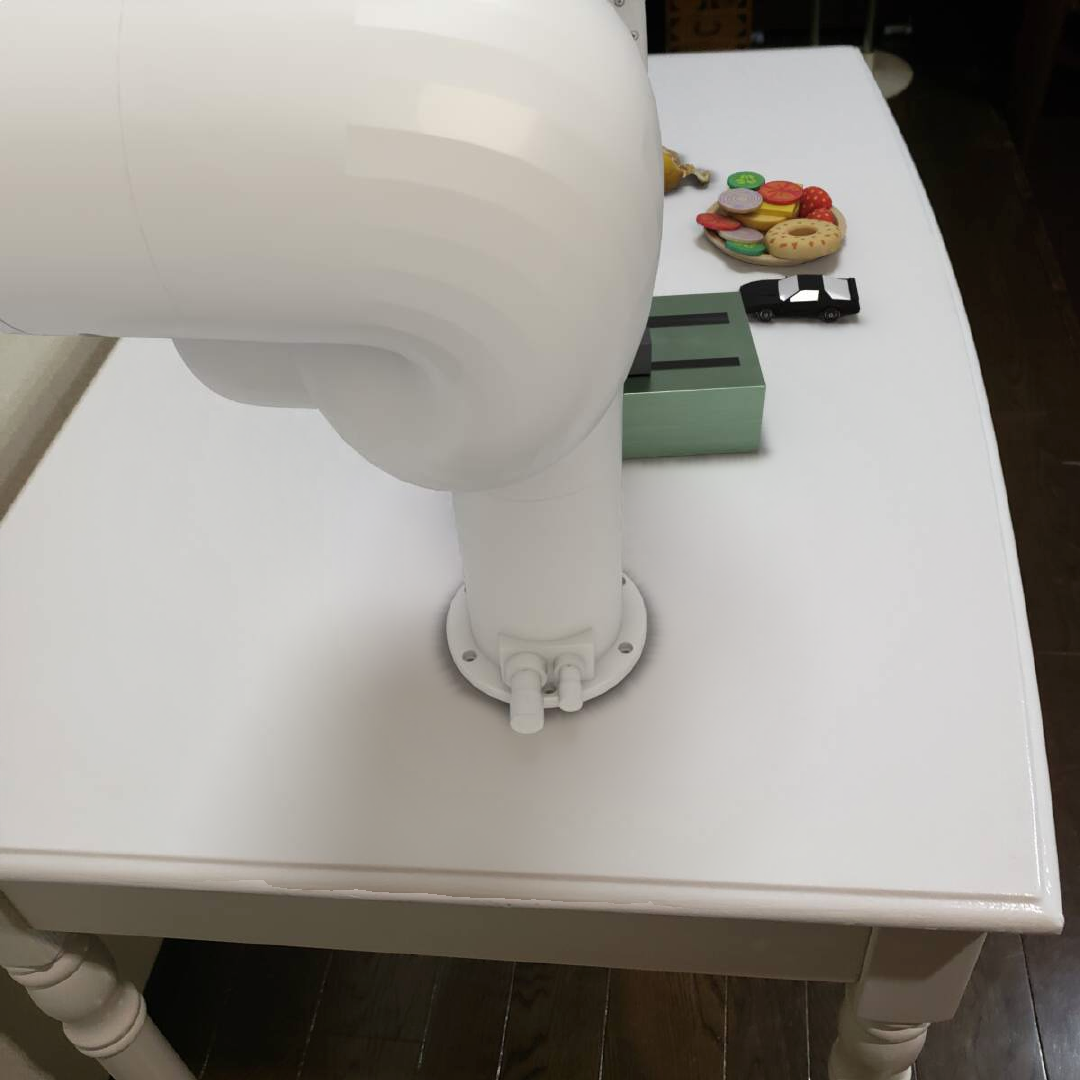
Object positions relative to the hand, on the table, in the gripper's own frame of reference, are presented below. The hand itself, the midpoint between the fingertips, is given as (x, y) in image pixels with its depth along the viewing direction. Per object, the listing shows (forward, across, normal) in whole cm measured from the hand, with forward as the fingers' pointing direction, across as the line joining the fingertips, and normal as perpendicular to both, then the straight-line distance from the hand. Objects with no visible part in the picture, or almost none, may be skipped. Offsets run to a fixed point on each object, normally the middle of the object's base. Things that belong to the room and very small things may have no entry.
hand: (565, 229), depth 72 cm
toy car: (+17, +19, +14) cm, 30 cm away
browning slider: (+11, +4, 0) cm, 12 cm away
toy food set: (+18, +19, +26) cm, 37 cm away
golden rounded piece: (+18, +11, +38) cm, 44 cm away
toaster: (+17, +7, +2) cm, 19 cm away
